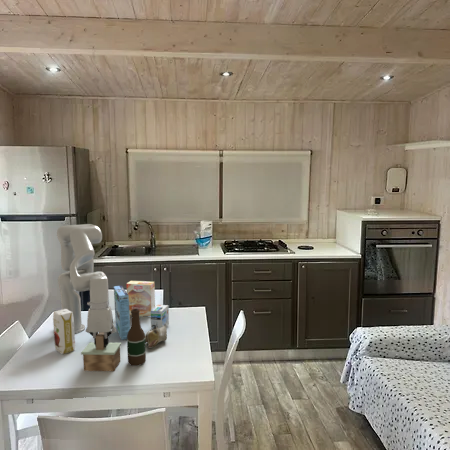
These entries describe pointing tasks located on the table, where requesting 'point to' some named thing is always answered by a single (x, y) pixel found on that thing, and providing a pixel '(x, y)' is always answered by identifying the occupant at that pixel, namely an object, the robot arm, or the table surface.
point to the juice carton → (64, 331)
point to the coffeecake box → (141, 296)
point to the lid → (101, 347)
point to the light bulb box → (159, 316)
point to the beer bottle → (136, 341)
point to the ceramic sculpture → (156, 336)
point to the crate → (101, 362)
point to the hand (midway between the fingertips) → (101, 345)
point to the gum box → (122, 311)
